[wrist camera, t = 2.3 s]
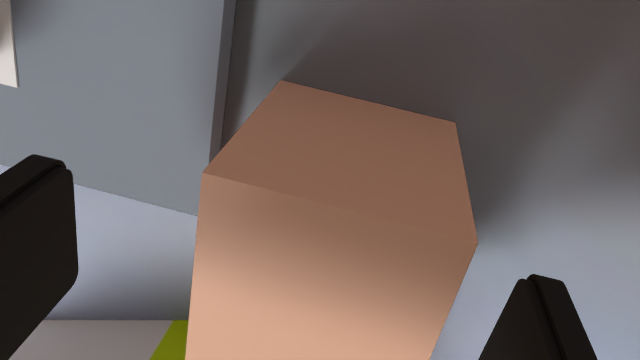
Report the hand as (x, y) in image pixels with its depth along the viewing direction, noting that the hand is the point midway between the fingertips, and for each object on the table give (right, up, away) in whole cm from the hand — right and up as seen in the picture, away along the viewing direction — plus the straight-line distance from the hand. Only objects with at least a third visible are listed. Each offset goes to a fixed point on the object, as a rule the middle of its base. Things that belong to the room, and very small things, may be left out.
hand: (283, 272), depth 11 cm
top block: (+2, +2, +5) cm, 5 cm away
